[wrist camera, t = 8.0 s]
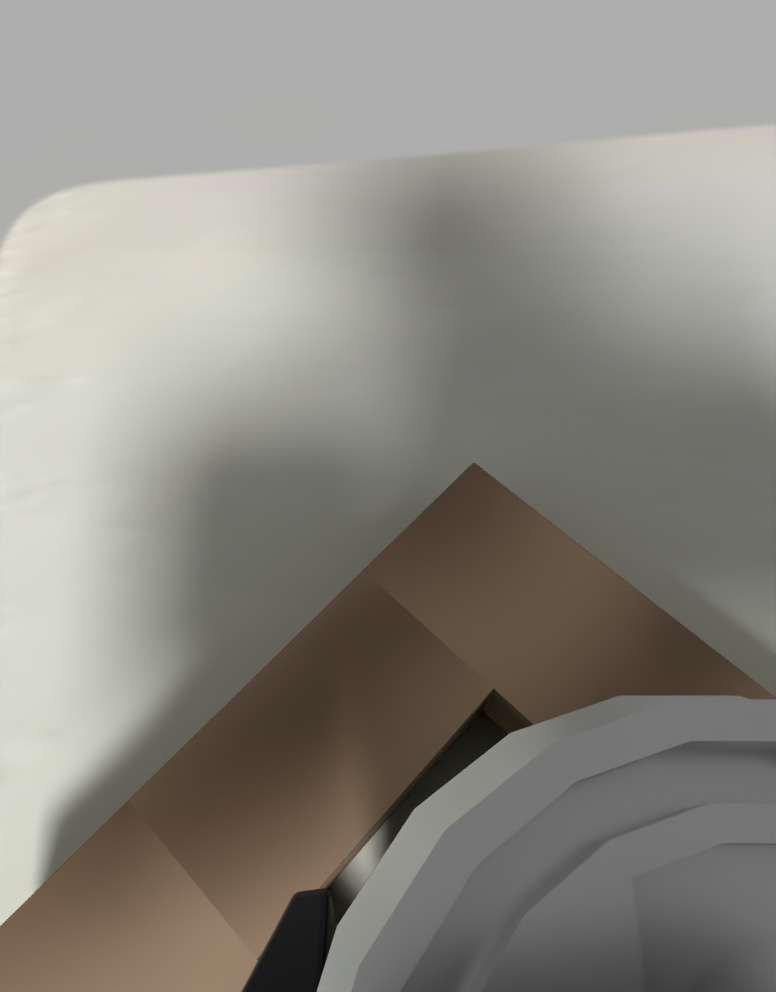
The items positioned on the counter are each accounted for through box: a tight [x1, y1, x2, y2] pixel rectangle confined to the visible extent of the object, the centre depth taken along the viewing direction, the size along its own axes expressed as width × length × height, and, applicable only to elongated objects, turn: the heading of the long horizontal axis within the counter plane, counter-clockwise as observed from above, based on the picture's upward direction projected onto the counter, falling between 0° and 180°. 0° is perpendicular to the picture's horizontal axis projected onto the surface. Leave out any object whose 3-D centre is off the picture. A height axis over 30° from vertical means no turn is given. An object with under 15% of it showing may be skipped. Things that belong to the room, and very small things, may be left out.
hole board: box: [0, 463, 776, 992], centre depth 14 cm, size 14×14×2 cm
